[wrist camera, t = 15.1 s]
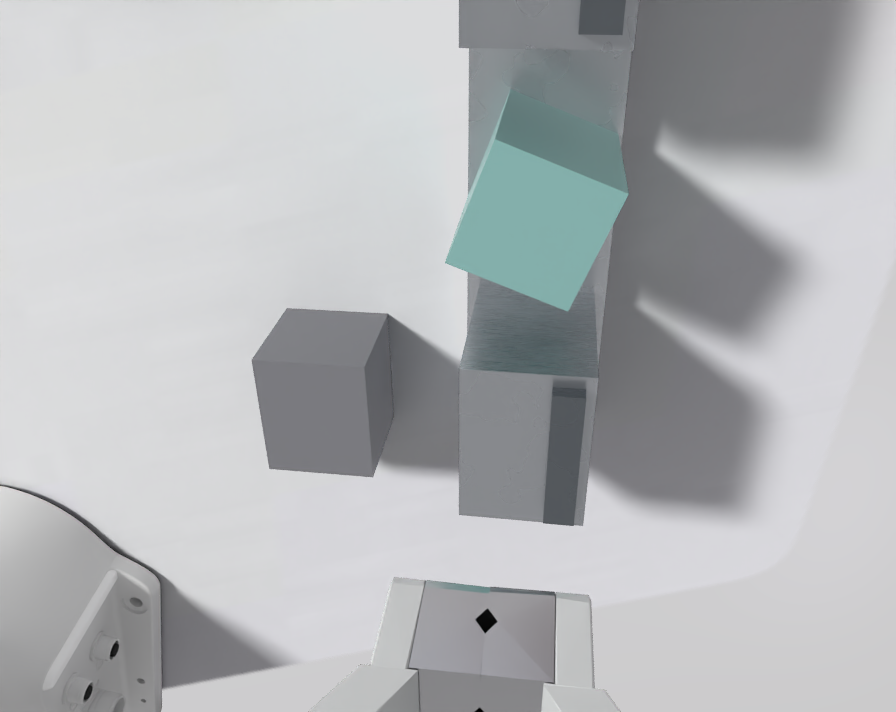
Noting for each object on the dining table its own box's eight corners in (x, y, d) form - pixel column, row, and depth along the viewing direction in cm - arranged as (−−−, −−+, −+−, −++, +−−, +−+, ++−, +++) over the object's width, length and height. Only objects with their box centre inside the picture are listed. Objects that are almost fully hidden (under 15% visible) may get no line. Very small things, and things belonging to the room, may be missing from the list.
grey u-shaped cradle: (590, 415, 39) (594, 546, 31) (470, 406, 40) (445, 533, 32) (658, -239, 26) (695, -293, 18) (476, -234, 26) (434, -284, 19)
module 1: (394, 415, 41) (373, 477, 37) (301, 408, 41) (269, 468, 37) (388, 312, 38) (364, 367, 33) (287, 307, 38) (251, 360, 34)
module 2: (569, 234, 33) (567, 311, 27) (468, 193, 32) (444, 262, 26) (618, 133, 30) (628, 194, 24) (510, 89, 30) (494, 138, 24)
